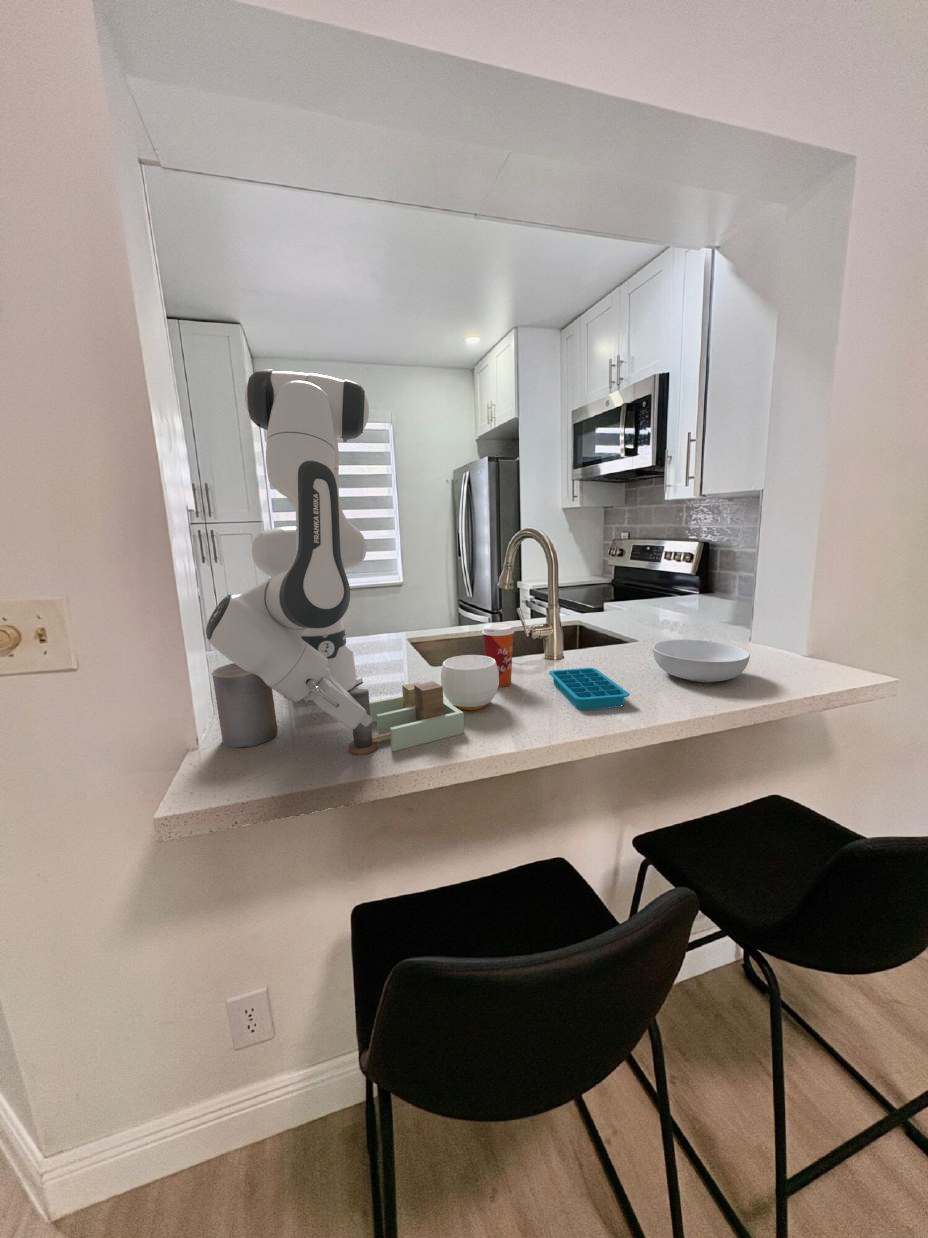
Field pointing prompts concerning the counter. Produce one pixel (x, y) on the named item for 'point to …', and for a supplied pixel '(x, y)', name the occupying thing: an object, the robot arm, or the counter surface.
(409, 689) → the oak block
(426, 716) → the tethered walnut block
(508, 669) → the paper cup
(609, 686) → the ice cube tray
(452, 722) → the lane rack
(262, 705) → the pillar candle
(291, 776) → the counter surface
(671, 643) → the serving bowl
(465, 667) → the white deep bowl
